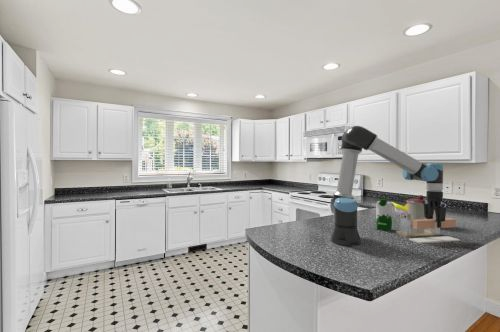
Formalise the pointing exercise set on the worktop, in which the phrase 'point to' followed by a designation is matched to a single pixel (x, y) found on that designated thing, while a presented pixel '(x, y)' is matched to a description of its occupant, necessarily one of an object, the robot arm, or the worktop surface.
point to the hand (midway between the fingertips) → (434, 232)
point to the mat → (433, 239)
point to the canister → (416, 208)
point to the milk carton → (384, 215)
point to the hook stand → (406, 227)
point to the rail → (433, 223)
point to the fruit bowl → (401, 208)
